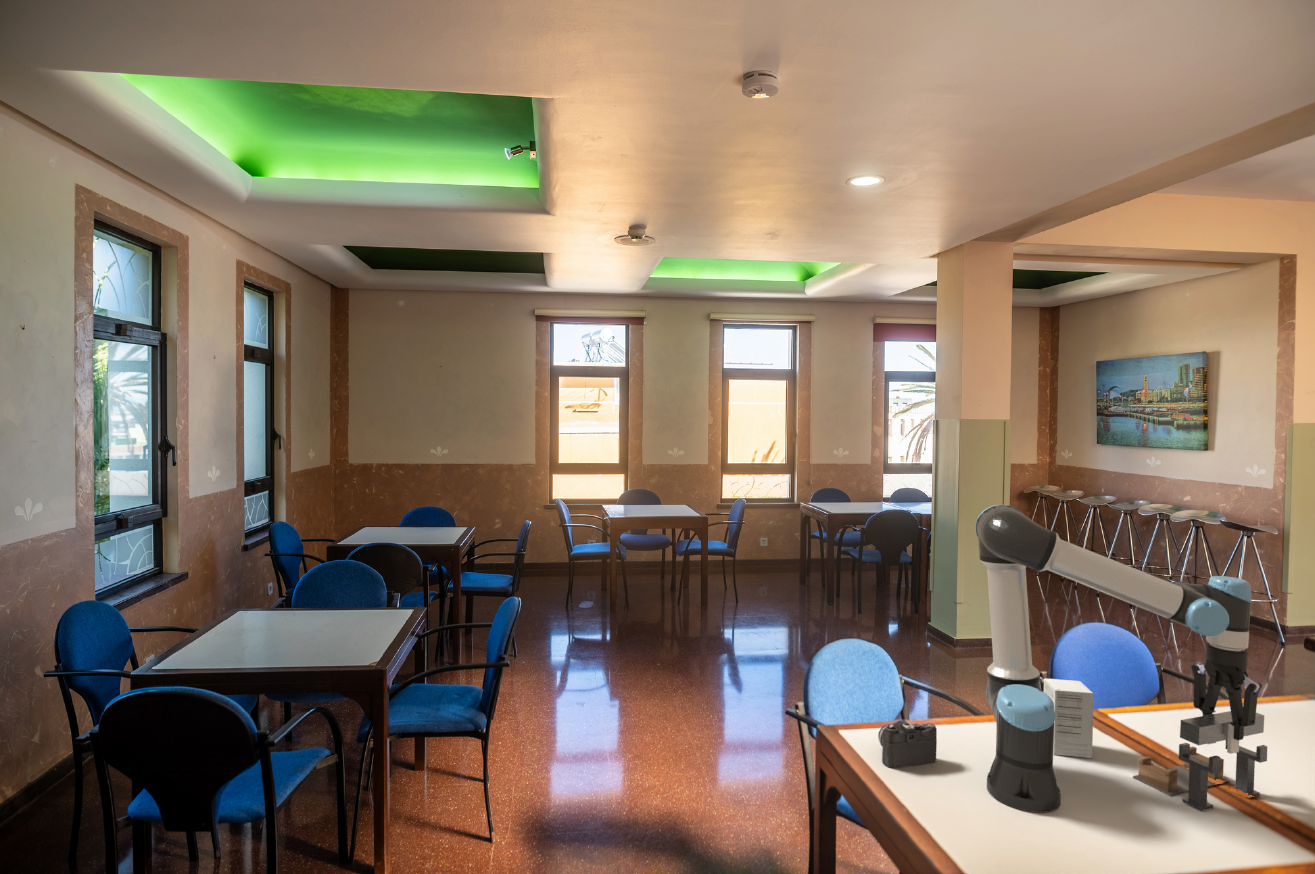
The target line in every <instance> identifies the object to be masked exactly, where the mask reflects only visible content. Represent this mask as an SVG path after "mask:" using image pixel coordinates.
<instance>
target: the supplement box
mask: <svg viewBox="0 0 1315 874" xmlns="http://www.w3.org/2000/svg"><path fill="white" fill-rule="evenodd" d="M1043 692H1044V693H1046V694H1047V695H1048V696H1049V697H1050V698H1051V699H1052V701H1053V703H1054V710H1055V721H1054V746H1053V755H1054V756H1055V755H1056V756H1068V757H1073V758H1074V757H1075V758H1076V757H1077V758H1085V759H1086V758H1087V759H1092V758H1093V741H1094V740H1093V739H1094V737H1093V733H1094V732H1093V729H1094V697H1095V696H1094V695H1095V693H1094V692H1093V691H1091V690H1090V689H1089V688H1088V687H1087V686H1086V685H1085V684H1083V682H1081V680H1072V679H1071V680H1069V679H1058V678H1044V679H1043Z"/></svg>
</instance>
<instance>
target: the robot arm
mask: <svg viewBox="0 0 1315 874" xmlns="http://www.w3.org/2000/svg"><path fill="white" fill-rule="evenodd" d="M974 526H975V527H974V529H975V534H976V537H977V539H978V555H979V562H980V563H982V564H983V565H984V566H985V567H986V573H987V587H988V599H989V600H988V603H989V619H990V631H991V633H990V634H991V644H992V645H991V649H992V662H991V664H989V665H988V666H987V670H986V671H987V685H986V692H985V695H986V700H987V702H988V705H989V707H990V708H991V709H990V710H991V711H992V714H993V718H994V720H995V723H996V724H995V727H996V731H995V732H996V733H995V738H996V739H995V742H996V743H995V757H994V759H993V762H992V763H991V766H990V770H989V772H988V773H987V775H986V790H987V792H988V793H989V794H990V795H991V797H992V798H994V799H996V800H997V801H999V803H1000V802H1001V803H1002V804H1005V805H1007V806H1009V807H1011V808H1015V809H1018V810H1022V811H1026V812H1033V813H1049V812H1054V811H1056V810H1058V809H1059V808H1060V807H1061V803H1062V793H1061V792H1062V791H1061V789H1060V787H1059V786H1058V782H1057V778H1056V774H1055V770H1054V754H1053V746H1054V721H1055V710H1054V703H1053V701H1052V699H1051V698H1050V697H1049V696H1048V695H1047V694H1046V693H1044V691H1043V690H1042V689H1041V687H1042V686H1041V678H1040V677H1041V676H1040V675H1041V674H1040V671H1039V670H1038V668H1037V667H1035V666H1034V665H1033V661H1032V659H1033V657H1032V645H1031V631H1030V629H1031V628H1030V616H1029V601H1028V600H1029V599H1028V587H1027V571H1026V570H1027V569H1026V568H1030V569H1032V570H1034V571H1037V572H1044V571H1048V572H1052V573H1053V574H1057V575H1059V576H1062V577H1064V578H1066V579H1069V580H1070V581H1074V582H1077V583H1079V584H1081V585H1082V586H1086V587H1087V588H1091V589H1093V590H1096V591H1097V592H1098V591H1099V592H1101V593H1103V594H1105V595H1108V596H1111V597H1114V598H1116V599H1118V600H1121V601H1123V602H1124V603H1125V602H1126V603H1128V604H1130V605H1133V606H1136V607H1137V608H1140V609H1143V610H1145V611H1148V612H1150V613H1153V614H1156V615H1158V616H1161V617H1163V618H1165V619H1167V620H1169V621H1172V622H1174V623H1177V624H1180V625H1182V626H1184V627H1186V628H1188V629H1190V631H1192V632H1194V633H1196V634H1199V635H1202V636H1204V637H1205V636H1206V637H1205V640H1206V644H1205V656H1204V657H1205V659H1206V660H1205V662H1204V664H1201V663H1200V664H1199V663H1198V664H1192V665H1191V670H1192V673H1193V707H1194V708H1196V709H1198V710H1200V711H1201V713H1202V716H1206V715H1212V714H1215V713H1216V712H1217V711H1216V710H1215V709H1216V705H1217V702H1218V699H1219V696H1220V692H1221V689H1222V688H1225V692H1226V694H1227V696H1228V703H1229V707H1230V711H1231V715H1232V721H1233V723H1230V724H1229V726H1228V744H1227V749H1226V753H1228V754H1231V755H1232V754H1237V752H1239V746H1240V741H1241V740H1244V737H1245V736H1244V726H1251V725H1254V724H1255V717H1256V713H1257V706H1258V705H1257V704H1258V697H1259V696H1258V695H1259V693H1260V690H1261V689H1262V684H1261V683H1260V682H1256V681H1254V680H1252V679H1251V678H1249V675H1248V673H1247V668H1248V665H1249V664H1248V663H1249V662H1248V661H1249V651H1248V648H1249V641H1250V640H1249V639H1250V620H1251V619H1250V618H1251V611H1252V609H1251V606H1252V602H1253V601H1252V586H1251V584H1250V583H1249V582H1248V581H1247V580H1245V579H1242V578H1238V577H1232V576H1225V575H1213V576H1211V577H1210V578H1209V581H1208V583H1207V584H1198V583H1186V582H1176V581H1167V580H1164V579H1162V578H1159V577H1157V576H1155V575H1152V574H1150V573H1146V572H1145V571H1142V570H1139V569H1137V568H1134V567H1132V566H1129V565H1127V564H1125V563H1122V562H1120V561H1117V560H1114V559H1111V558H1109V557H1107V556H1105V555H1102V554H1098V553H1097V552H1094V551H1092V550H1089V549H1087V548H1083V547H1082V546H1079V545H1076V544H1074V543H1071V542H1069V541H1066V540H1063V539H1061V538H1060V536H1059V534H1058V533H1057V532H1055V531H1053V530H1050V529H1048V528H1046V527H1044V526H1041V524H1038V523H1037V522H1035V521H1034V520H1032V519H1031V518H1030V517H1028V516H1026V515H1025V514H1024V513H1023V512H1022V511H1021V510H1019V509H1018V508H1016V507H1014V506H1012V505H1007V504H995V505H991V506H989V507H987V508H985V509H983V511H982V512H981V513H980V514H979V515H978V517H977V519H976V522H975V525H974ZM1207 675H1208V677H1209V679H1208V683H1207ZM1243 684H1244V687H1243V688H1244V694H1243V698H1242V693H1243V689H1242V685H1243ZM1212 744H1217V742H1213V743H1208V744H1207V745H1212Z"/></svg>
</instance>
